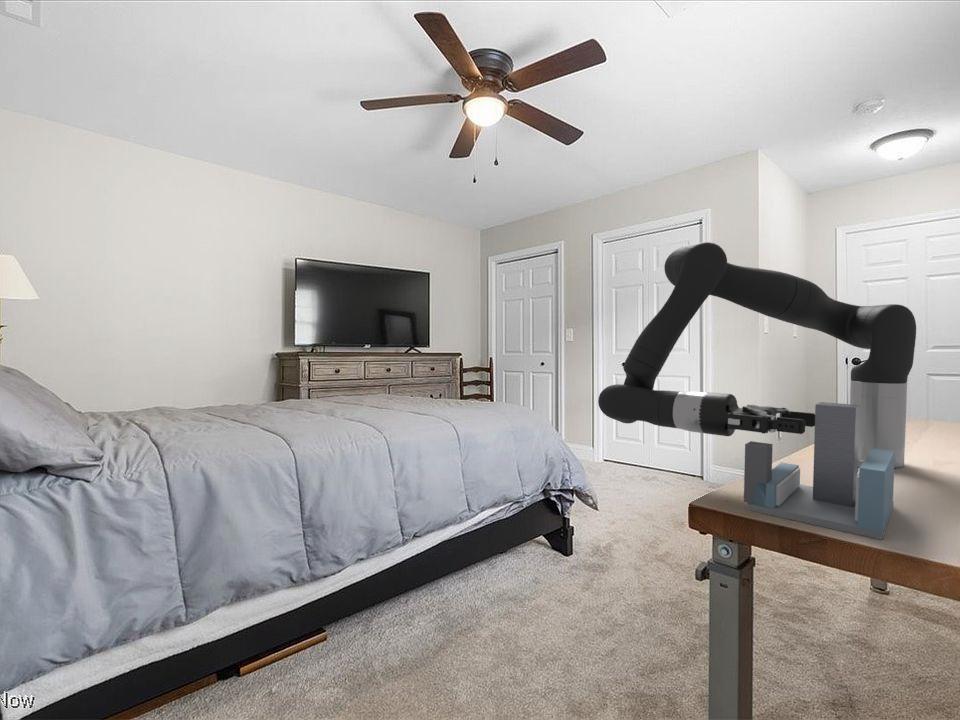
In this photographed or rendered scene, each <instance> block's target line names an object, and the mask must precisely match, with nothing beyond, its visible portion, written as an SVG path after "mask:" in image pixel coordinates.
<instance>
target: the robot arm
mask: <svg viewBox="0 0 960 720" xmlns="http://www.w3.org/2000/svg"><path fill="white" fill-rule="evenodd" d="M663 269H664V273H665V276H666V278H667V281H668V282H669V283H670V284H671V285H673V286H674V287H673V290H672V291H671V294H670V295H669V297H668V299H666V301H665V302H664V305H663V306H662V307H661V309H660V310H659V311H658V312H657V313H656V314H655V316H654V317H653V318H652V319H651V320H650V322H649V323H648V324H647V325H646V326H645V327H644V329H643V330H642V331H641V333H640V334H639V336H638V337H637V338H636V341H635V342H634V344H633V346H632V348H631V350H630V351H629V353H628V355H627V357H626V359H625V361H624V363H623V372H624V373H625V379H624V382H623V384H611V385H609V386H606V387H605V388H604V389H602V391H601V392H600V393H599V395H598V401H597V402H598V407H599V409H600V411H601V412H602V414H604V416H607V417H608V418H609V419H612V420H616V421H617V422H620V423H622V424H633V423H635V422H637V421H638V422H639V421H640V422H645V423H649V424H650V425H654V426H658V427H664V428H671V429H680V430H683V431H688V432H690V433H691V432H692V433H699V434H707V435H715V436H723V437H732V435H733V434H735V433H734V432H735V431H736V430H738V431H739V430H740V431H746V432H753V433H760V434H769V433H776V432H781V433H789V434H798V435H803V434H804V433H805V432H806V427H809V428H810V427H811V428H813V427H815V412H814V413H812V412H805V411H803V412H802V411H792V410H791V411H790V410H789V409H788V408H786V407H775V406H774V407H773V406H767V405H766V406H761V405H760V406H759V405H755V404H746V406H745V405H743V406H742V407H739V405H738V400H737V398H736V396H735V395H734V394H731V393H720V392H706V391H690V390H689V391H678V390H677V391H676V390H675V391H674V390H663V389H662V390H657V389H654V387H655V382H656V379H657V377H658V376H659V374H660V373H661V370H662V369H663V367H664V365H665V363H666V361H667V360H668V358H669V356H670V354H671V352H672V351H673V348H674V347H675V345H676V343H677V342H678V340H679V338H680V337H681V336H682V334H683V332H684V331H685V329H686V327H687V326H688V325H689V323H690V322H691V321H692V319H693V318H694V316H695V315H696V313H697V312H698V310H699V309H700V308H701V306H702V305H704V302H705V301H707V298H708V297H709V296H712V297H717V298H721V299H723V300H726V301H729V302H730V303H734V304H735V305H738V306H741V307H742V308H746V309H748V310H751V311H753V312H755V313H758V314H762V315H764V316H767V317H769V318H773V319H776V320H779V321H782V322H785V323H789V324H793V325H796V326H799V327H803V328H807V329H812V330H815V331H818V332H822V333H824V334H826V335H829V336H831V337H833V338H835V339H837V340H840V341H842V342H843V343H846V344H848V345H850V346H853V347H856V348H858V349H863V350H864V349H865V350H869V354H868V355H869V356H868V358H867V359H866V360H865V361H864V362H863V363H861V364H859V365H855V366H854V367H852V368H851V370H850V386H849V387H850V390H849V392H850V394H849V404H852V405H860V416H859V445H858V458H859V460H864V461H865V459H866V458H867V456H868V455H869V454H870V452H871V451H872V449H873V448H874V449H882V450H890V451H895V460H894V469H895V468H896V469H897V468H903V467H904V466H905V455H906V454H905V450H906V432H907V431H906V426H907V424H906V423H907V402H908V376H909V374H910V372H911V370H912V368H913V364H914V357H915V349H916V347H915V346H916V340H917V323H916V318H915V315H914V313H913V312H912V310H911V309H910V308H908V307H907V306H905V305H902V304H891V303H890V304H879V305H862V306H861V305H856V304H851V303H846V302H843V301H839V300H836V299H834V298H831V297H830V296H829V295H827V293H826V292H825V291H824V290H823V289H822V288H821V287H820V286H819V285H817V284H816V283H814V282H812V281H811V280H809V279H805V278H803V277H799V276H796V275H794V274H790V273H787V272H782V271H777V270H773V269H765V268H759V267H749V266H742V265H737V264H733V263H729V262H728V258H727V254H726V251H725V250H724V249H723V248H722V247H721V246H720V245H719V244H717V243H715V242H712V241H711V242H709V241H703V242H701V241H700V242H696V243H692V244H688V245H687V244H686V245H684V246H681V247H679V248H677V249H675V250H674V251H673V252H671V253H670V254H669V255H668V257H666V260H665V263H664V267H663ZM777 414H779V416H777Z"/></svg>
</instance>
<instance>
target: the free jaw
mask: <svg viewBox="0 0 960 720" xmlns="http://www.w3.org/2000/svg"><path fill="white" fill-rule="evenodd" d="M743 476H744V479H743V481H744V482H743V483H744V484H743V503H746V504H747V503H750V504H755V505H759V506H764V507H769V508H775V507H776V506H779V505H780V504H781V503H782V502H784V501H785V500H786V499H787V498H788V497H789V496H790V495H791V494H792V493H793V492H794V491H795V490H796V489H797V488H798V487H799V486H800V484H801V467H800V465H799V464H795V463H787V462H779V464H777V465H776V466H775V467H773V443H766V442H759V441H753V440H751V441H749V442H746V443H745V444H744V475H743Z"/></svg>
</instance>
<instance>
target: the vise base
mask: <svg viewBox="0 0 960 720" xmlns="http://www.w3.org/2000/svg"><path fill="white" fill-rule="evenodd" d="M894 460H895V451H890V450H882V449H874V448H873V449H872V451H871V452H870V454H869V455H868V456H867V458H866V459H865V461H864V462H863V464H862V465H861V466H860V468H859V470H858V475H857V477H856V503H855V504H854V506H853V507H848V506H843V505H838V504H832V503H827V502H822V501H817V500H813V485H812V486H811V485H806V484H801V483H800V486H799V487H798V488H797V489H796V490H795V491H794V492H793V493H792V494H791V495H790V496H789V497H788V498H787V499H786V500H785V501H784V502H782V503H781V504H780V505H779V506H776V507H775V508H769V507H764V506H759V505H755V504H750V503H746V504H747V506H746V508H747V511H752V512H755V513H761V514H763V515H764V514H765V515H769V516H774V517H779V518H784V519H787V520H791V521H792V520H793V521H797V522H801V523H805V524H810V525H815V526H819V527H822V528H827V529H833V530H837V531H842V532H846V533H850V534H854V535H860V536H863V537H868V538H872V539H877V540H881V541H883V539H884V537H885V533H886V530H887V527H888V525H889V522H890V519H891V515H892V512H893V509H894V487H895V485H894V482H895V481H894V480H895V468H894Z"/></svg>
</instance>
